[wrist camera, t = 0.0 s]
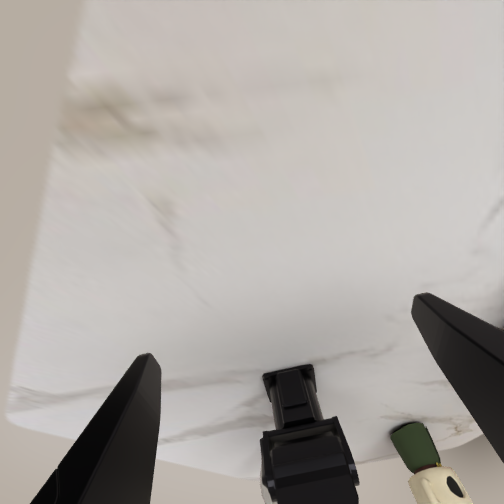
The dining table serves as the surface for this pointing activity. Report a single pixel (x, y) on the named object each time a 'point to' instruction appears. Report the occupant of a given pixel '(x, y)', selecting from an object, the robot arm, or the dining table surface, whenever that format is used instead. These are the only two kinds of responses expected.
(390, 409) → the dining table surface
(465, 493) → the character mug
